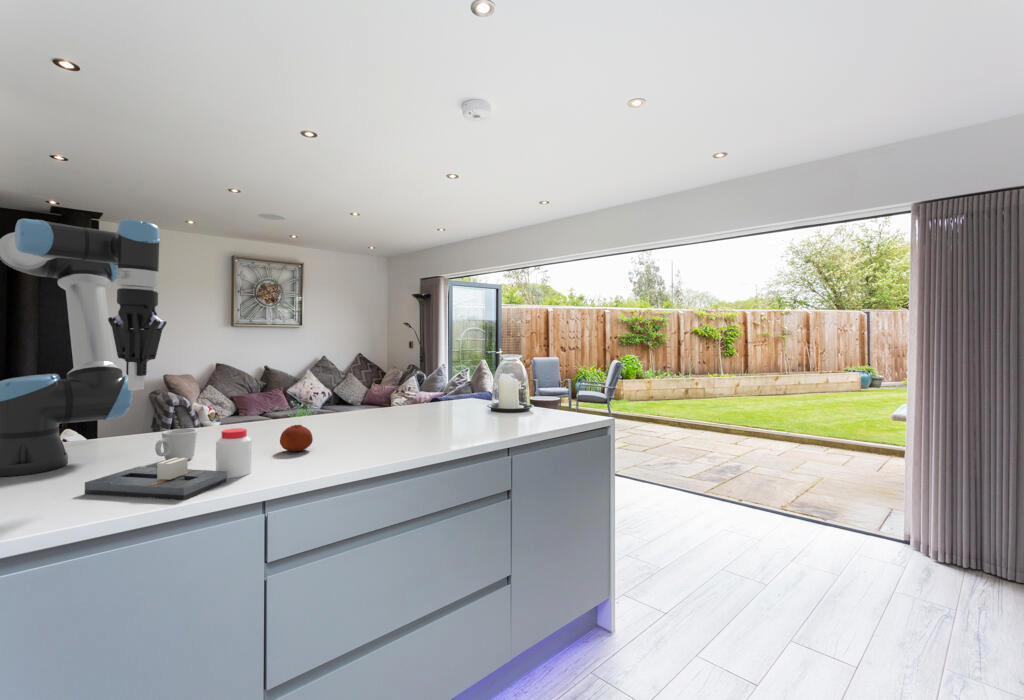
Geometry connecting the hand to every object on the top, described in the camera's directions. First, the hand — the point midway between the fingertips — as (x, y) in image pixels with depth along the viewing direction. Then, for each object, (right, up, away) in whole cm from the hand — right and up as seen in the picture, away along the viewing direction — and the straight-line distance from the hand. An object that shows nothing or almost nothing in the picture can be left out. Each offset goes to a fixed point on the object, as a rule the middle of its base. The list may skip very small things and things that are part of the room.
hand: (136, 389), depth 111 cm
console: (+8, -22, -4) cm, 24 cm away
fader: (+12, -21, -4) cm, 24 cm away
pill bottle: (+18, -22, +8) cm, 30 cm away
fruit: (+22, -22, +33) cm, 45 cm away
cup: (-4, -21, +18) cm, 28 cm away
